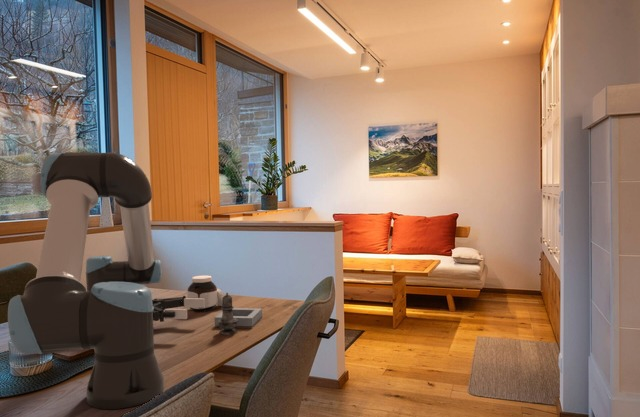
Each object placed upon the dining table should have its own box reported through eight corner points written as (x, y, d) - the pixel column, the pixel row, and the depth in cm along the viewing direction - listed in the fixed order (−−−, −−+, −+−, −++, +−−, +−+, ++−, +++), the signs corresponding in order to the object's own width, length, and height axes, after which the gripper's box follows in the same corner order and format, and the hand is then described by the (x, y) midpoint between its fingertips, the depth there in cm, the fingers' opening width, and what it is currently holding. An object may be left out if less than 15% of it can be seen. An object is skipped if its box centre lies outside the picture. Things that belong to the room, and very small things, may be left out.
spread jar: (184, 311, 174) (183, 278, 174) (202, 303, 185) (201, 272, 184) (214, 313, 170) (213, 279, 170) (230, 305, 181) (229, 274, 180)
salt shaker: (233, 335, 144) (232, 294, 143) (214, 334, 145) (213, 294, 145) (240, 329, 150) (239, 290, 149) (222, 328, 151) (221, 290, 150)
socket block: (252, 327, 152) (251, 318, 151) (214, 326, 153) (214, 317, 153) (262, 317, 163) (262, 308, 163) (227, 316, 165) (227, 307, 165)
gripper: (149, 309, 164) (210, 310, 161) (107, 331, 139) (178, 332, 137) (148, 287, 164) (210, 287, 161) (106, 304, 139) (177, 306, 136)
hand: (195, 308), depth 149 cm, fingers open, 13 cm apart
